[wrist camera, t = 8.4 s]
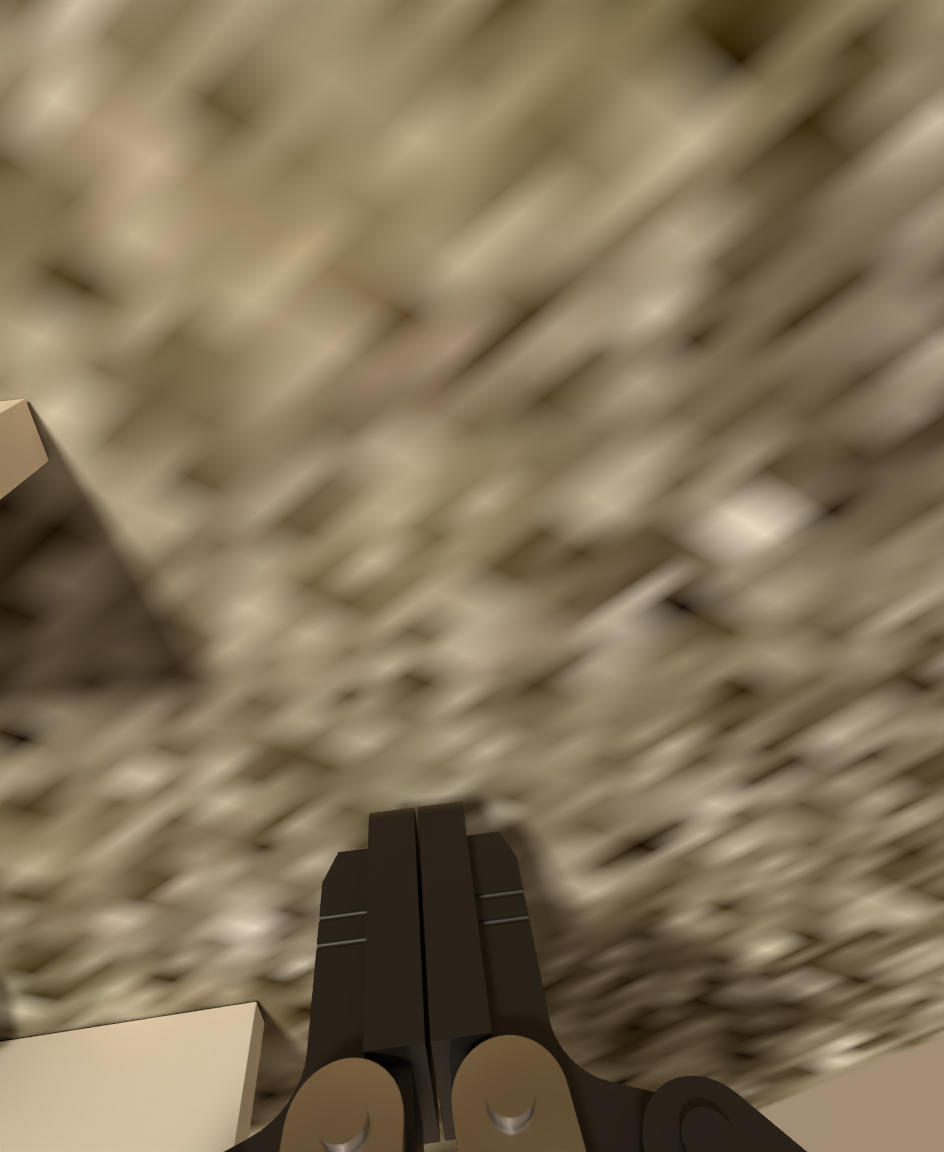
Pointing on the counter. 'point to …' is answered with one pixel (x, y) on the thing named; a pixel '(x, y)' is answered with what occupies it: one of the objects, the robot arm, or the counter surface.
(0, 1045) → the bin
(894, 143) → the counter surface
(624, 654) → the counter surface
